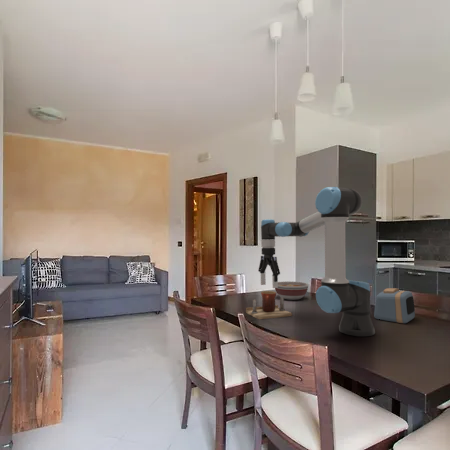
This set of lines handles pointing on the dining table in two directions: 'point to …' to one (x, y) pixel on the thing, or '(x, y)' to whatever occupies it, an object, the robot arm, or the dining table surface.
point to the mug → (268, 301)
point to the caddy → (260, 314)
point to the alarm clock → (394, 306)
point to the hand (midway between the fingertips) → (268, 286)
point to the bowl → (291, 290)
